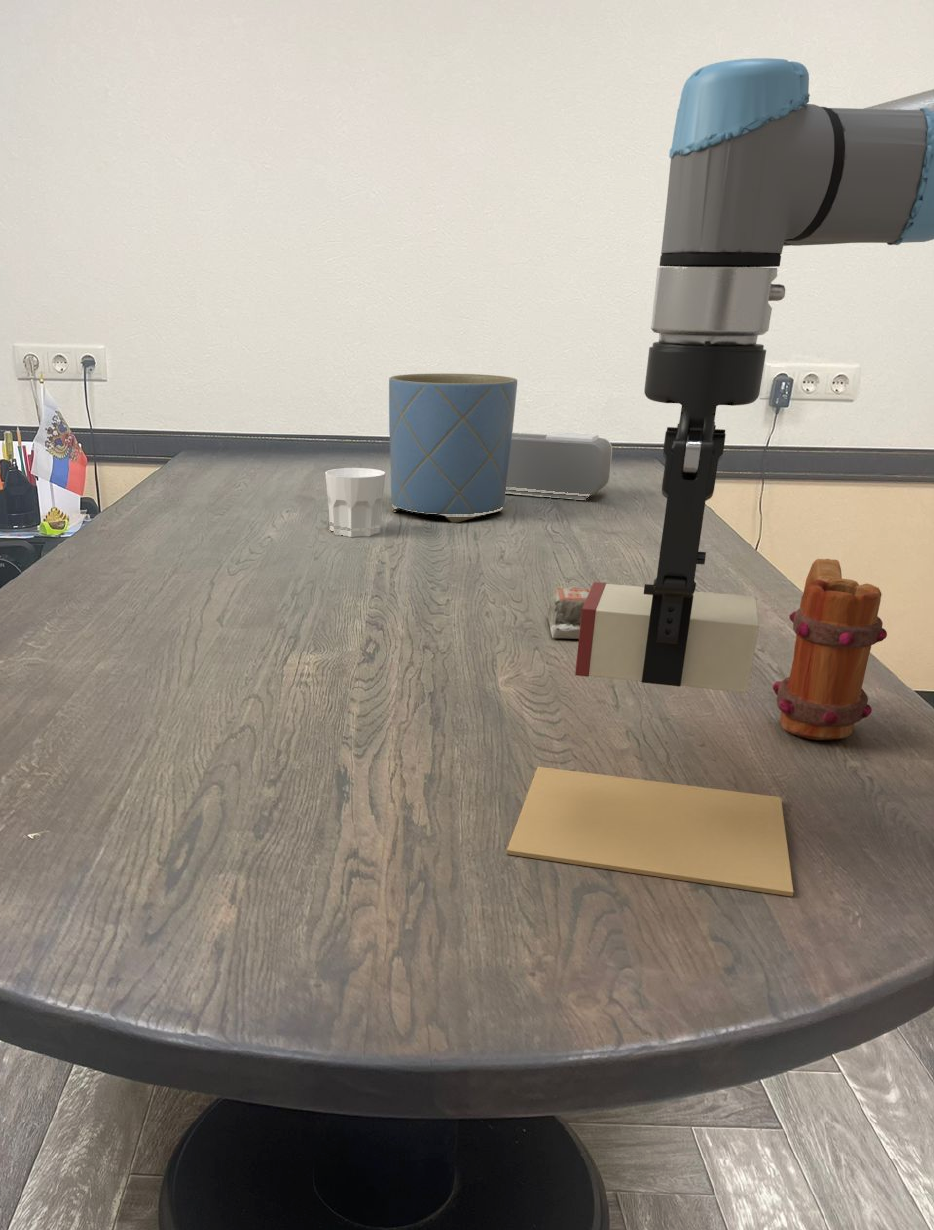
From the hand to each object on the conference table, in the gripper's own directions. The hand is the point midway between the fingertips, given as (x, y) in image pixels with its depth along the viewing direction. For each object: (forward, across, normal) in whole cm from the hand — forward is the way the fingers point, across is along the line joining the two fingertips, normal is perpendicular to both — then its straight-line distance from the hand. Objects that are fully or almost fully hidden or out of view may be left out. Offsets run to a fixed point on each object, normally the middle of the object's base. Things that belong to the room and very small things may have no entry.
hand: (663, 664), depth 81 cm
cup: (+13, +96, +54) cm, 110 cm away
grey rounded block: (+13, +144, +30) cm, 147 cm away
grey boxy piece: (+13, +51, +6) cm, 53 cm away
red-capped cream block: (0, 0, 0) cm, 0 cm away
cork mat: (+13, -2, -1) cm, 13 cm away
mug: (+13, +26, -14) cm, 32 cm away
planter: (+13, +118, +43) cm, 127 cm away
